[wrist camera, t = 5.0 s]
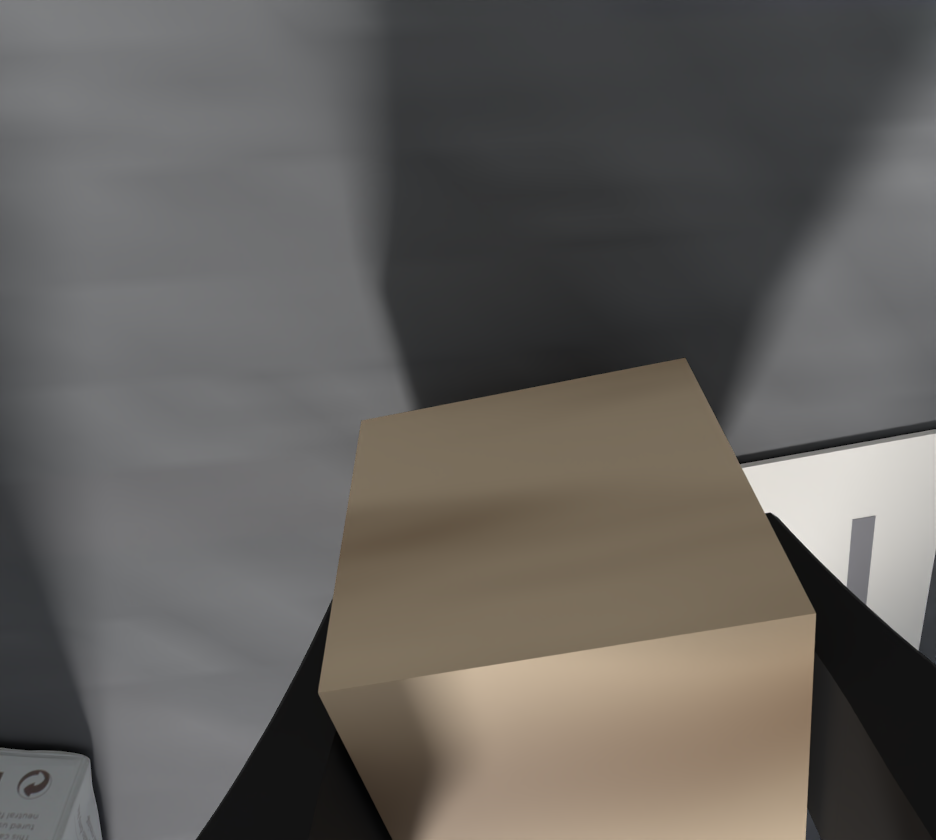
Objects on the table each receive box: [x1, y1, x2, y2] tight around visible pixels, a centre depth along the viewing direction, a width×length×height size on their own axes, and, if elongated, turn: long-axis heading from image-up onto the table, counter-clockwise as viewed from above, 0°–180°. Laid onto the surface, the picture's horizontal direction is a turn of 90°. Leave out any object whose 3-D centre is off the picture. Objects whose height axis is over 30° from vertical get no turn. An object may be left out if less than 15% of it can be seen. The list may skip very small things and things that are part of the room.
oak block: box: [318, 358, 816, 840], centre depth 11 cm, size 5×5×5 cm
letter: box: [740, 429, 936, 651], centre depth 18 cm, size 12×9×1 cm
